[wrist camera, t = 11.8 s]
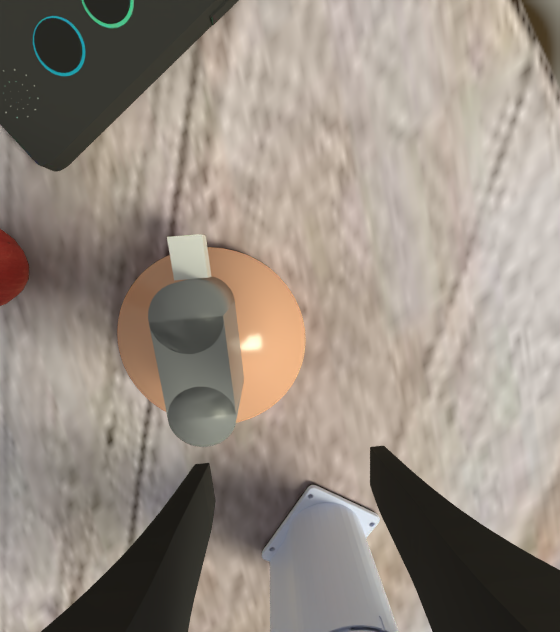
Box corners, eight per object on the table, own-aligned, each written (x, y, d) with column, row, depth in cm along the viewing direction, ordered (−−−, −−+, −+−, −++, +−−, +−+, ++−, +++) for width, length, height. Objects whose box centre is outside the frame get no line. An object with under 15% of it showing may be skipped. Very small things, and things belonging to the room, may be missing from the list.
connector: (246, 399, 21) (239, 443, 16) (196, 404, 21) (173, 449, 16) (227, 236, 18) (211, 228, 13) (168, 241, 18) (131, 235, 13)
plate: (250, 441, 23) (249, 451, 22) (97, 368, 21) (87, 375, 20) (336, 307, 21) (340, 310, 19) (174, 210, 18) (168, 207, 17)
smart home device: (-74, 47, 15) (184, -246, 13) (-39, 69, 17) (194, -187, 14) (42, 172, 16) (288, -71, 14) (63, 180, 18) (286, -36, 16)
